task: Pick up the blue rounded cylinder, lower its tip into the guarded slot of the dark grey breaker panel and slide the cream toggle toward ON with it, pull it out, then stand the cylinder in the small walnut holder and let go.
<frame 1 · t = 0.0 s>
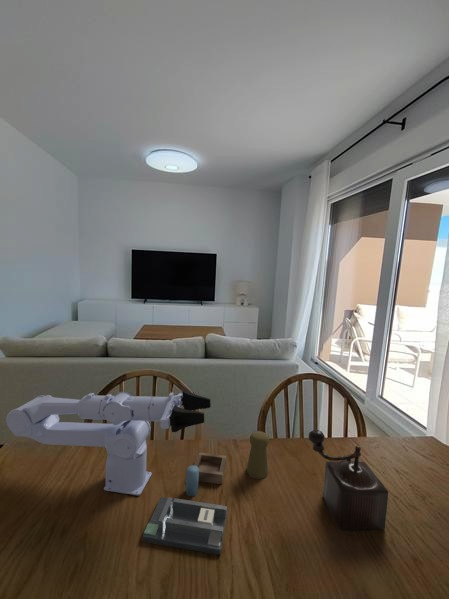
hand: (207, 410, 71), 22 cm above the table, tool horizontal, fingers open, 7 cm apart
manual coffee grinder: (340, 511, 70), on the table
blue rounded cylinder: (191, 491, 74), on the table
stylus holder: (209, 471, 81), on the table
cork: (257, 471, 82), on the table
breaker panel: (187, 525, 64), on the table
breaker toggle: (206, 518, 63), point 2 cm above the table, slide at 0.0 cm
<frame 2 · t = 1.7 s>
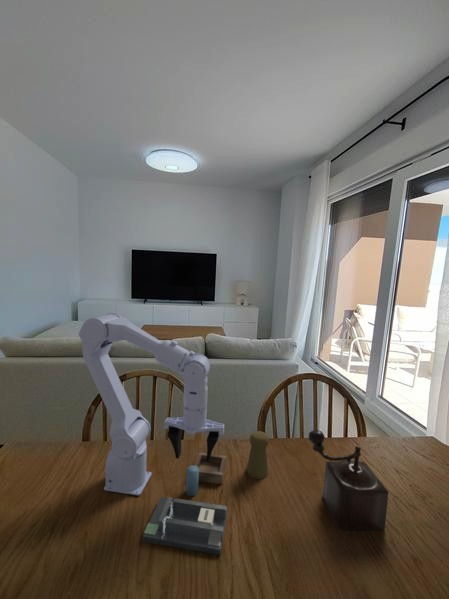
hand: (193, 457, 73), 9 cm above the table, tool pointing down, fingers open, 7 cm apart
nothing on the table moved.
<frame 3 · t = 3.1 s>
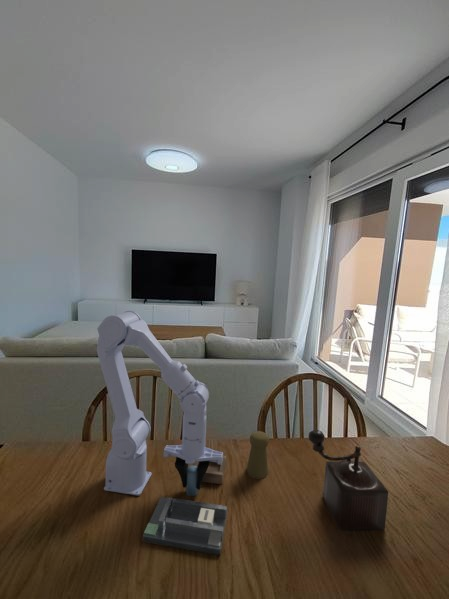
hand: (192, 485, 73), 2 cm above the table, tool pointing down, fingers closed on blue rounded cylinder, 3 cm apart
blue rounded cylinder: (192, 491, 74), on the table, touching gripper
everything else where it was.
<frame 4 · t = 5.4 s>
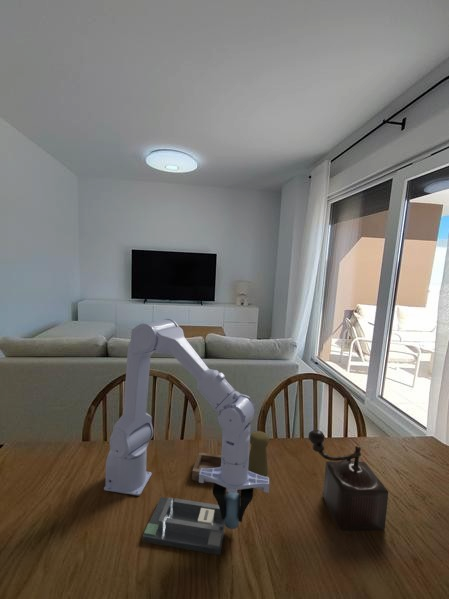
hand: (231, 516, 62), 4 cm above the table, tool pointing down, fingers closed on blue rounded cylinder, 3 cm apart
blue rounded cylinder: (231, 522, 63), point 2 cm above the table, touching gripper
everything else where it was.
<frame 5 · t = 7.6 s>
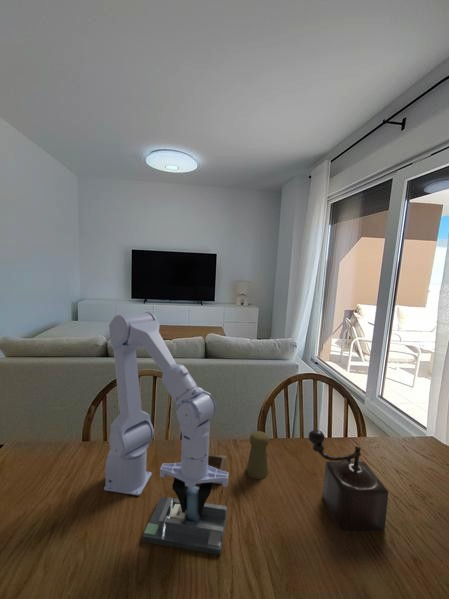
hand: (192, 510, 63), 4 cm above the table, tool pointing down, fingers closed on blue rounded cylinder, 3 cm apart
blue rounded cylinder: (192, 516, 64), point 2 cm above the table, touching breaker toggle, gripper
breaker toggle: (179, 514, 64), point 2 cm above the table, slide at 6.0 cm, touching blue rounded cylinder
everything else where it was.
when the fingers open (3 cm above the table, at t = 10.7 s): blue rounded cylinder stays where it is, resting on stylus holder.
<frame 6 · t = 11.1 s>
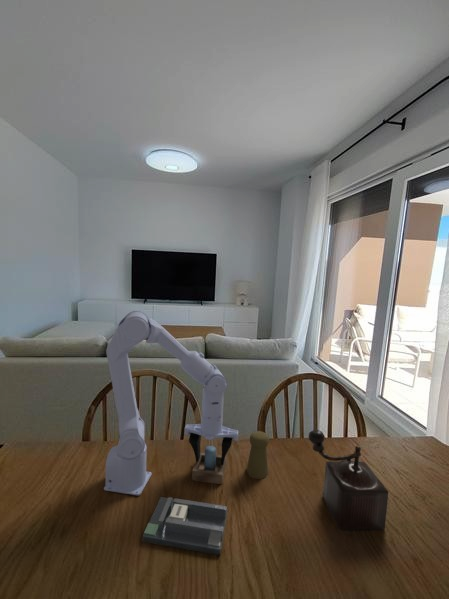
hand: (210, 461, 81), 3 cm above the table, tool pointing down, fingers open, 6 cm apart
blue rounded cylinder: (209, 469, 81), point 1 cm above the table, touching stylus holder
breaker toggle: (178, 514, 64), point 2 cm above the table, slide at 6.0 cm
everything else where it was.
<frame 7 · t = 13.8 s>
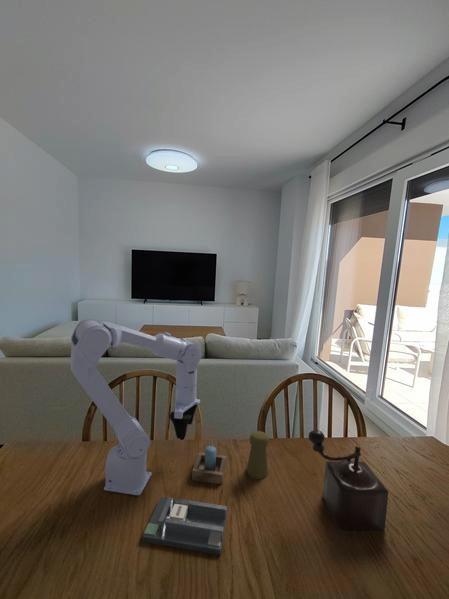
hand: (184, 430, 83), 10 cm above the table, tool pointing down, fingers open, 7 cm apart
nothing on the table moved.
at the end: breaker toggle slide at 6.0 cm; blue rounded cylinder 0.0 cm off-centre on the stylus holder, point 0.6 cm above the stylus holder's base; the gripper is holding nothing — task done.
